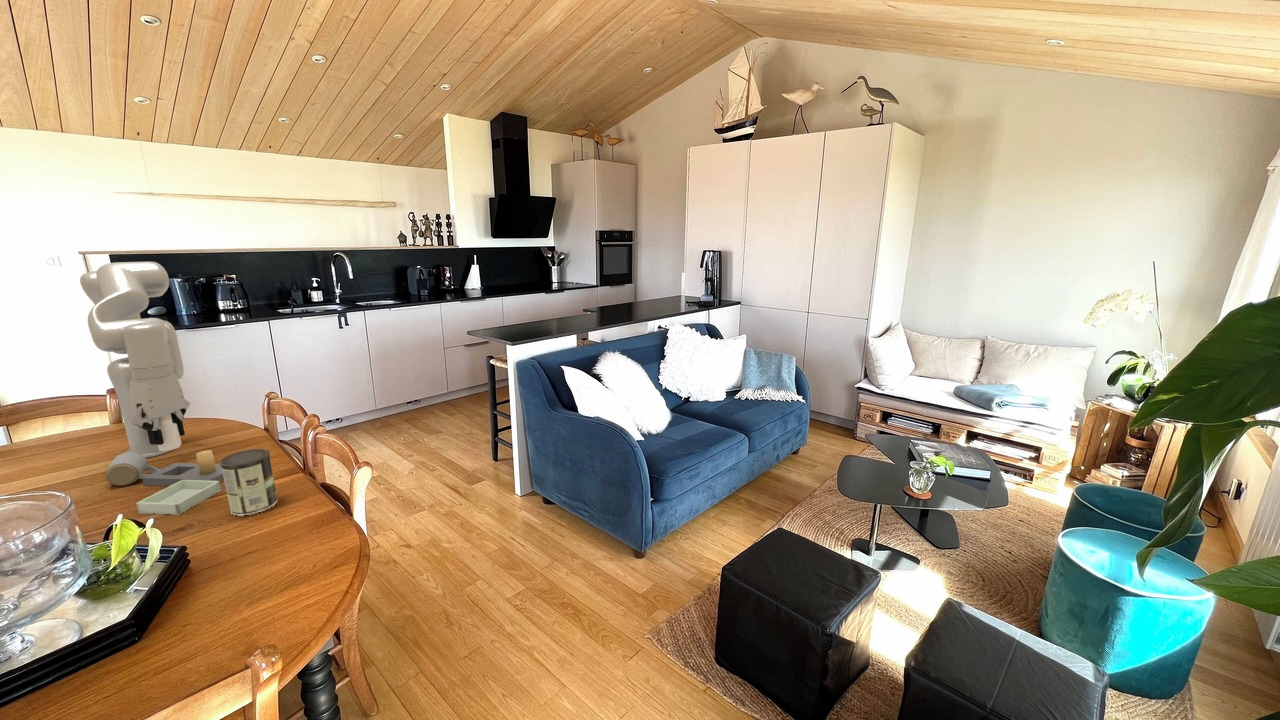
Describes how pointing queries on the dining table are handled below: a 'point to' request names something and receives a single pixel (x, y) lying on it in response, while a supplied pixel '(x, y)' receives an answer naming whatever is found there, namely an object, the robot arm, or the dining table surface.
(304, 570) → the dining table surface
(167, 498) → the tray
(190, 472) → the socket block
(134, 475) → the ceramic mug
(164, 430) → the small white bottle
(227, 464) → the coffee can
